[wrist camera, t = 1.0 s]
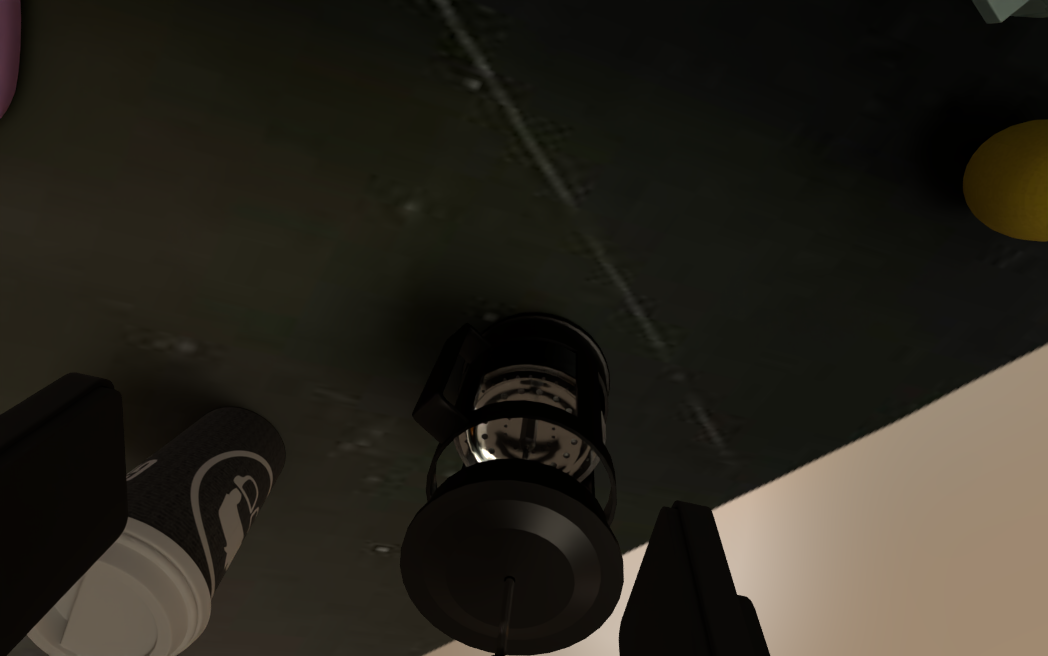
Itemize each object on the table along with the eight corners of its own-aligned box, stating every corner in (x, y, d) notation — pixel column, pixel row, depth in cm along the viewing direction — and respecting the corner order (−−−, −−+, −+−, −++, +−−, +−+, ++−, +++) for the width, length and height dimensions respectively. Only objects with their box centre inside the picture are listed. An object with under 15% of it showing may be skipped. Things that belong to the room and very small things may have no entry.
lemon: (1069, 158, 34) (1205, 186, 27) (979, 239, 36) (1083, 285, 28) (999, 89, 33) (1121, 98, 26) (910, 176, 35) (1000, 207, 27)
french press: (647, 393, 41) (722, 749, 20) (539, 474, 44) (504, 859, 23) (519, 261, 38) (447, 511, 17) (413, 357, 41) (241, 670, 20)
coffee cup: (233, 360, 42) (67, 505, 29) (335, 460, 45) (228, 638, 31) (145, 435, 45) (-45, 600, 31) (246, 525, 48) (111, 715, 34)
